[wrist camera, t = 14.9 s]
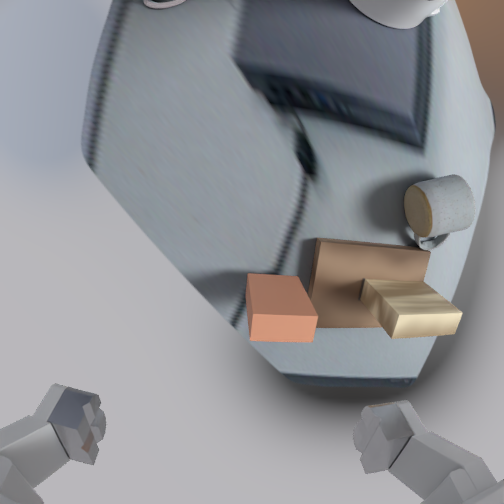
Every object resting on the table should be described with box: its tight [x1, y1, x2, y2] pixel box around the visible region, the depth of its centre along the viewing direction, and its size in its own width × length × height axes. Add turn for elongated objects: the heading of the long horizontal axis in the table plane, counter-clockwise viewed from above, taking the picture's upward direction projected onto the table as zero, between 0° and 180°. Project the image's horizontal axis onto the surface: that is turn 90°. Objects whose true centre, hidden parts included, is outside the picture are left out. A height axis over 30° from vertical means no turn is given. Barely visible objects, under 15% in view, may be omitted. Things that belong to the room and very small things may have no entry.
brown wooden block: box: [308, 238, 462, 339], centre depth 36 cm, size 12×17×12 cm
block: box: [246, 273, 318, 342], centre depth 34 cm, size 3×6×10 cm, turn 85°
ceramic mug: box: [404, 175, 475, 250], centre depth 36 cm, size 11×8×8 cm
